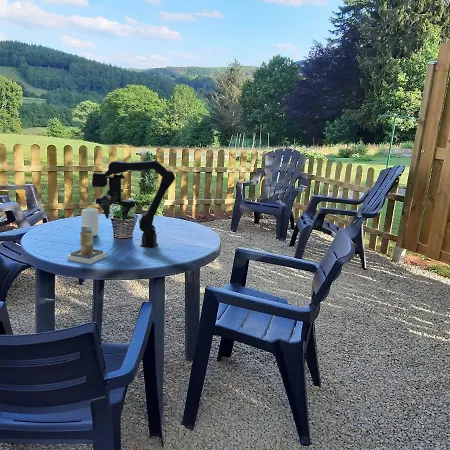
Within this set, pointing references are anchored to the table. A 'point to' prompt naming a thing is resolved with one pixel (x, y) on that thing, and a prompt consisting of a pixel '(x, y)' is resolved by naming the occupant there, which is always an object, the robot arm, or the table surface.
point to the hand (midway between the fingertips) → (115, 219)
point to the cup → (91, 219)
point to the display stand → (87, 259)
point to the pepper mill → (86, 240)
